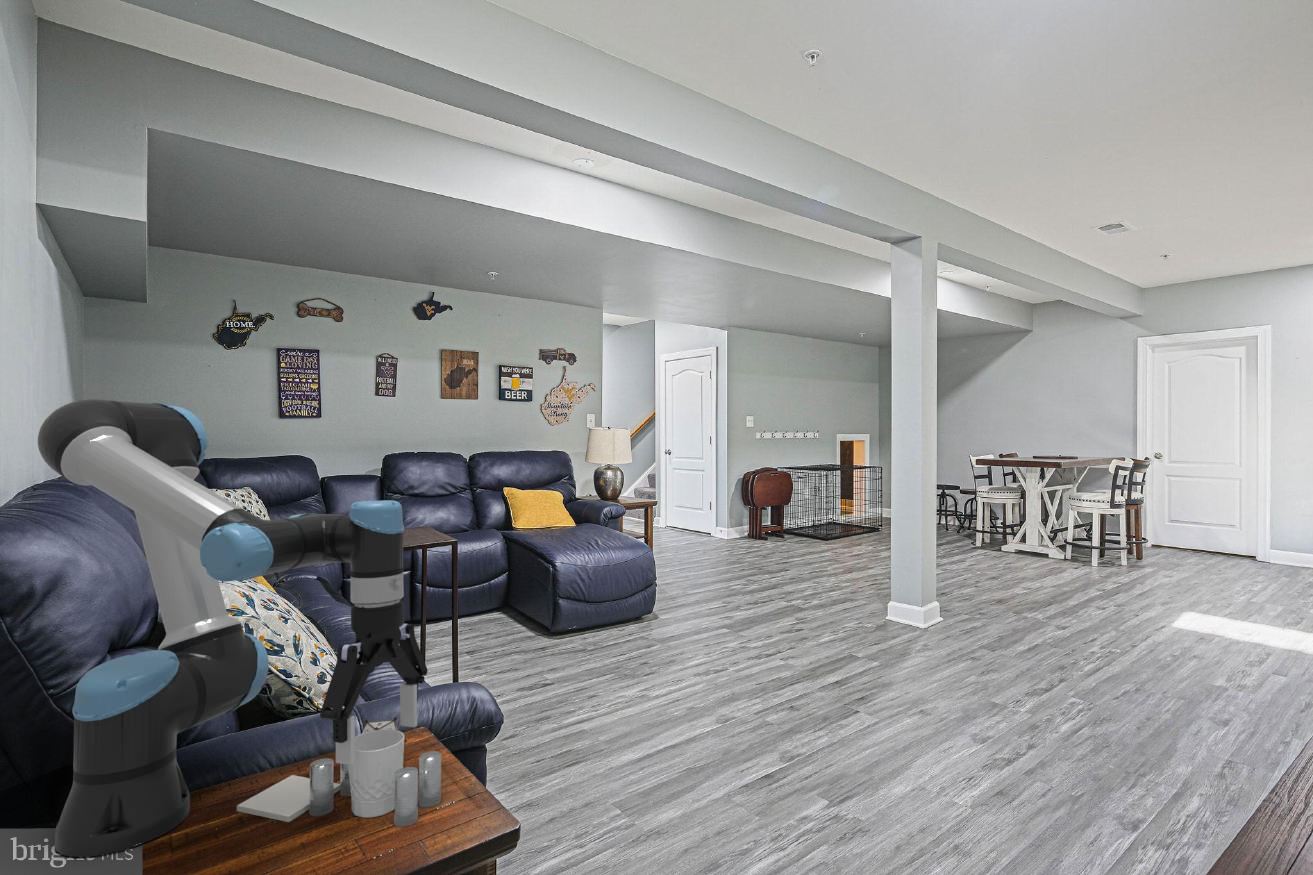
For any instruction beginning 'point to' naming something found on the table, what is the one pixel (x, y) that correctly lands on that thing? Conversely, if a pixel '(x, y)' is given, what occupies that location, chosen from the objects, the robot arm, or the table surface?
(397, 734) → the white cup
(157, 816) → the robot arm
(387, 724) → the game die
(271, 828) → the table surface
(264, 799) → the coaster
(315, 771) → the spacer posts
